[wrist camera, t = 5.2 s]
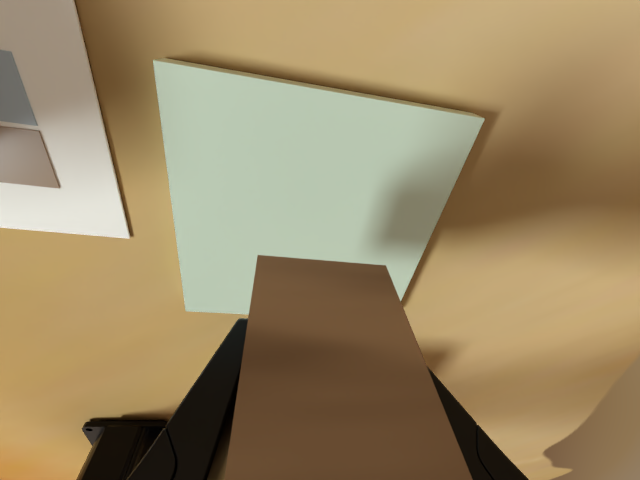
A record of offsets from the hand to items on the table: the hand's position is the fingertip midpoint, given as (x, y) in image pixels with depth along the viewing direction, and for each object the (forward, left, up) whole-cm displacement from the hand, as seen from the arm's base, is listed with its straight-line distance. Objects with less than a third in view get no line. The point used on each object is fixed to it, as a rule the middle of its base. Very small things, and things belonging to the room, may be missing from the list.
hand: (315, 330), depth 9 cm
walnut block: (0, 0, -1) cm, 1 cm away
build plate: (0, 0, -6) cm, 7 cm away
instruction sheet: (+3, +12, -6) cm, 14 cm away
